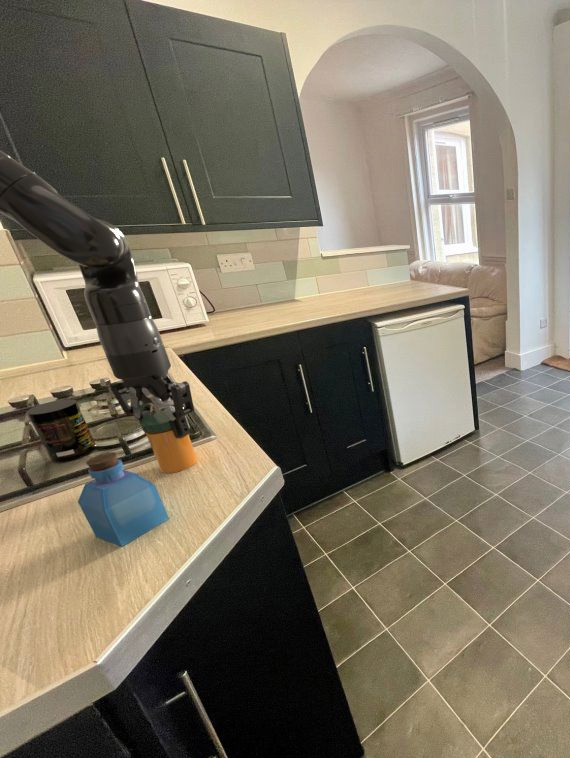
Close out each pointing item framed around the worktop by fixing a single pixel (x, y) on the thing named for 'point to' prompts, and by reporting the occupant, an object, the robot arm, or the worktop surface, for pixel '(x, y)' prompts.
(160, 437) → the jar
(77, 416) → the supplement container
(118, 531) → the perfume bottle
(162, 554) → the worktop surface
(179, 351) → the worktop surface
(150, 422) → the lid
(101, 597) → the worktop surface
